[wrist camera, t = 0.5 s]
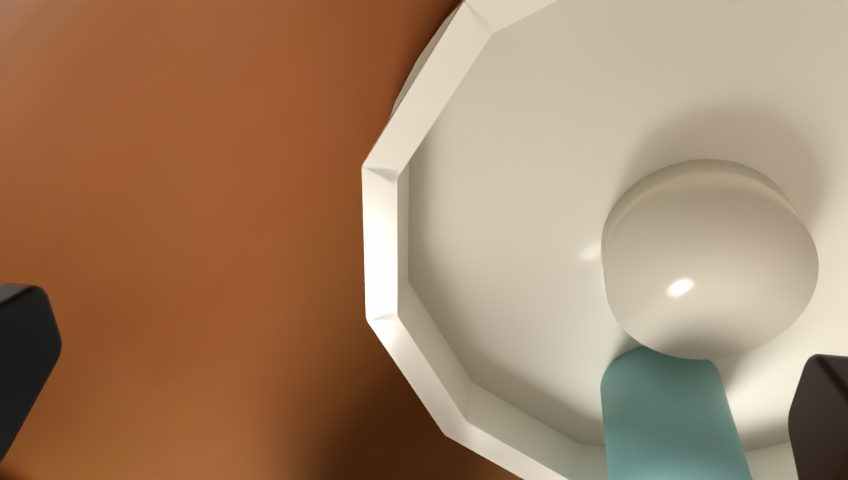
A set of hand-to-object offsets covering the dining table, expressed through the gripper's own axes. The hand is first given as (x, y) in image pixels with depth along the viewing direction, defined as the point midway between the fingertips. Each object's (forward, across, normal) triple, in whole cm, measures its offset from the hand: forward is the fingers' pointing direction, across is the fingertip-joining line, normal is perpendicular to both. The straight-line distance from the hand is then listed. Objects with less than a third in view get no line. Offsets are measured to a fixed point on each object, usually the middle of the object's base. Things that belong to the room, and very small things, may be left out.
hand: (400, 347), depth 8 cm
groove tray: (+14, -7, +5) cm, 16 cm away
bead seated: (+13, -6, +11) cm, 18 cm away
